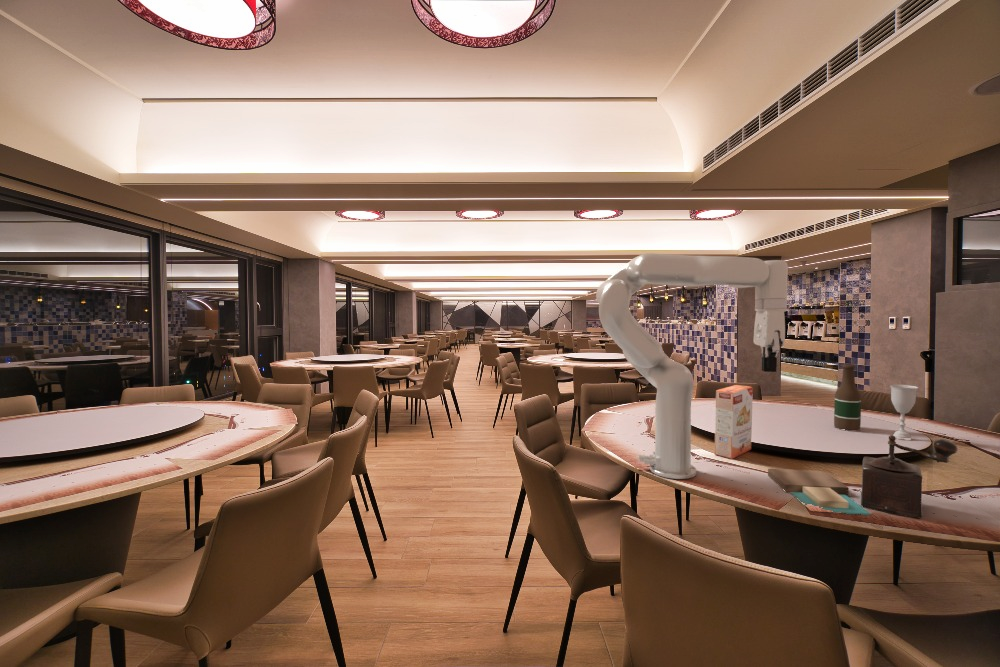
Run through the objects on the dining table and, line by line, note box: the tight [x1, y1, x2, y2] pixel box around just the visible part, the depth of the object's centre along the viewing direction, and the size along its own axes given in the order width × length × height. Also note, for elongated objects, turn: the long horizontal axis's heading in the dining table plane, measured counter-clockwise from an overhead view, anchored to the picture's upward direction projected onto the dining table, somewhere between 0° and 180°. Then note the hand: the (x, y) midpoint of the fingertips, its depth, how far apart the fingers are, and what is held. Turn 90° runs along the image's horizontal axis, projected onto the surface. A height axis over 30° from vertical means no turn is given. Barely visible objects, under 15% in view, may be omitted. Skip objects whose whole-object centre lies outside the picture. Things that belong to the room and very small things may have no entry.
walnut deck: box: [767, 468, 850, 497], centre depth 115 cm, size 14×11×2 cm
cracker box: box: [714, 384, 754, 460], centre depth 141 cm, size 14×6×21 cm, turn 129°
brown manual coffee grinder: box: [860, 434, 958, 519], centre depth 101 cm, size 16×11×18 cm
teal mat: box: [790, 492, 872, 516], centre depth 105 cm, size 12×10×1 cm
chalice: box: [889, 384, 919, 438], centre depth 151 cm, size 7×7×18 cm
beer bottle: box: [833, 363, 862, 431], centre depth 164 cm, size 8×8×24 cm
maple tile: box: [803, 486, 849, 508], centre depth 106 cm, size 6×8×2 cm
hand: (768, 371), depth 123 cm, fingers closed
